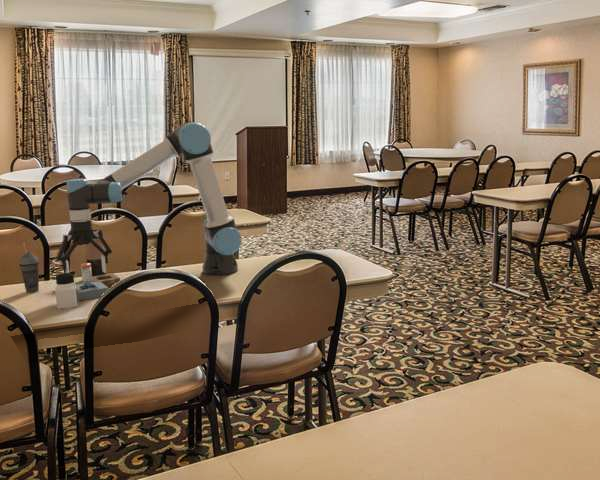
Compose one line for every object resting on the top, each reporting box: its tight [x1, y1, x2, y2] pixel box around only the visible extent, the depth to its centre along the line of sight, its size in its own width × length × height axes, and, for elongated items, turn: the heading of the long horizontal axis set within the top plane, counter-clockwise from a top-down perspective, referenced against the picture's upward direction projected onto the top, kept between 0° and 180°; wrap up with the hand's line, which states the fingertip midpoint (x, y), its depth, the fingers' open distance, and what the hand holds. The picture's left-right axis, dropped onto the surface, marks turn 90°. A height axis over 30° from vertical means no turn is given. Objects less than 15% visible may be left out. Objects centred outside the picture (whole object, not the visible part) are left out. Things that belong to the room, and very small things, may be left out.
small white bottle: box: [80, 262, 93, 290], centre depth 240 cm, size 4×4×12 cm
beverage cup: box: [18, 241, 40, 294], centre depth 246 cm, size 7×7×20 cm
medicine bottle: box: [54, 271, 79, 310], centre depth 227 cm, size 7×7×12 cm
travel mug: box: [84, 229, 107, 277], centre depth 265 cm, size 8×8×20 cm
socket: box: [76, 281, 109, 302], centre depth 241 cm, size 12×12×3 cm
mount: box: [92, 273, 121, 288], centre depth 254 cm, size 10×10×3 cm
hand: (86, 275), depth 240 cm, fingers open, 13 cm apart
